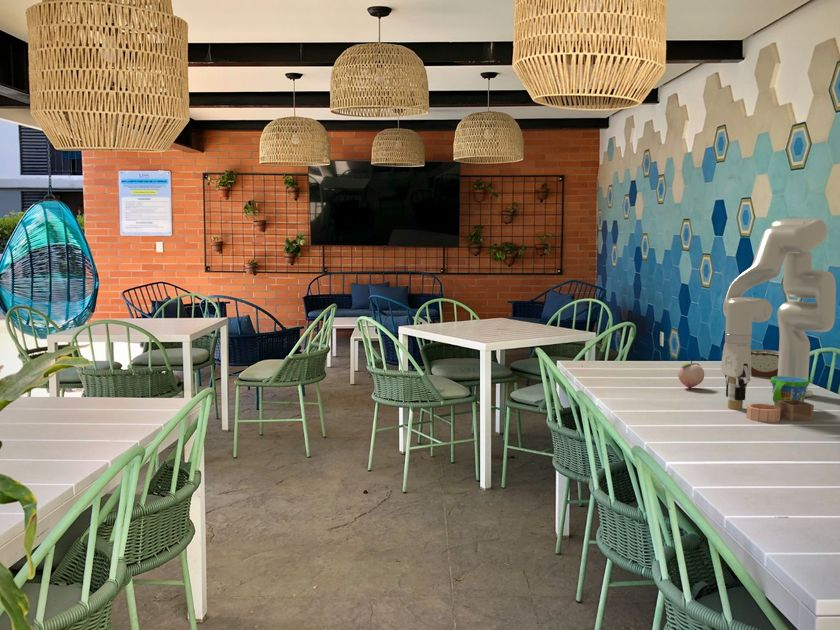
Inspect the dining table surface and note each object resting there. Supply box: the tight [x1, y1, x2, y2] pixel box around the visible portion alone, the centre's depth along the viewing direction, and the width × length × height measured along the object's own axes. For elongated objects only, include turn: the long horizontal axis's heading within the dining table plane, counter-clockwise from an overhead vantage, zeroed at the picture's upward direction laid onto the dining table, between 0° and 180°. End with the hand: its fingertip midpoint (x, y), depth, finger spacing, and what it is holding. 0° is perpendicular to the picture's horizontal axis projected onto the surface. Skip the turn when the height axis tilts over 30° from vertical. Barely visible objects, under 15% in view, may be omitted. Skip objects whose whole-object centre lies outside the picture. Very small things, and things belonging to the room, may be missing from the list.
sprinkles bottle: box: [727, 375, 744, 411], centre depth 252 cm, size 5×5×14 cm
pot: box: [745, 403, 781, 423], centre depth 239 cm, size 9×9×4 cm
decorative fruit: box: [677, 360, 705, 389], centre depth 287 cm, size 9×8×10 cm
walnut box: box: [777, 400, 815, 422], centre depth 240 cm, size 7×7×5 cm
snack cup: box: [770, 376, 810, 406], centre depth 251 cm, size 16×10×10 cm
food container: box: [750, 349, 779, 379], centre depth 312 cm, size 12×6×10 cm, turn 58°
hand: (735, 397), depth 252 cm, fingers closed on sprinkles bottle, 4 cm apart
